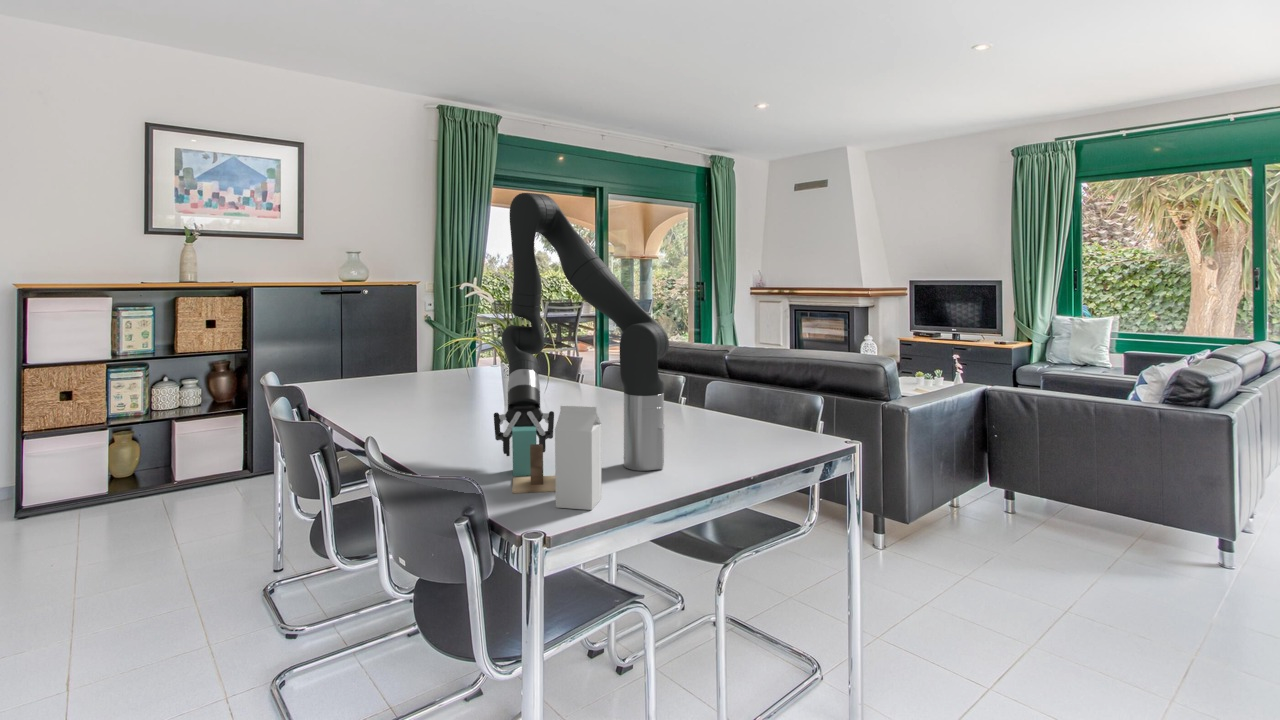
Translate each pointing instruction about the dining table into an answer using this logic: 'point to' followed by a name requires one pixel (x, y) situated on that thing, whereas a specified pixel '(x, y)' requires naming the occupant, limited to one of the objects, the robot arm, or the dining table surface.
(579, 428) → the milk carton
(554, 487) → the post
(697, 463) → the dining table surface
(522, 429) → the tall teal foam brick
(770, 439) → the dining table surface
